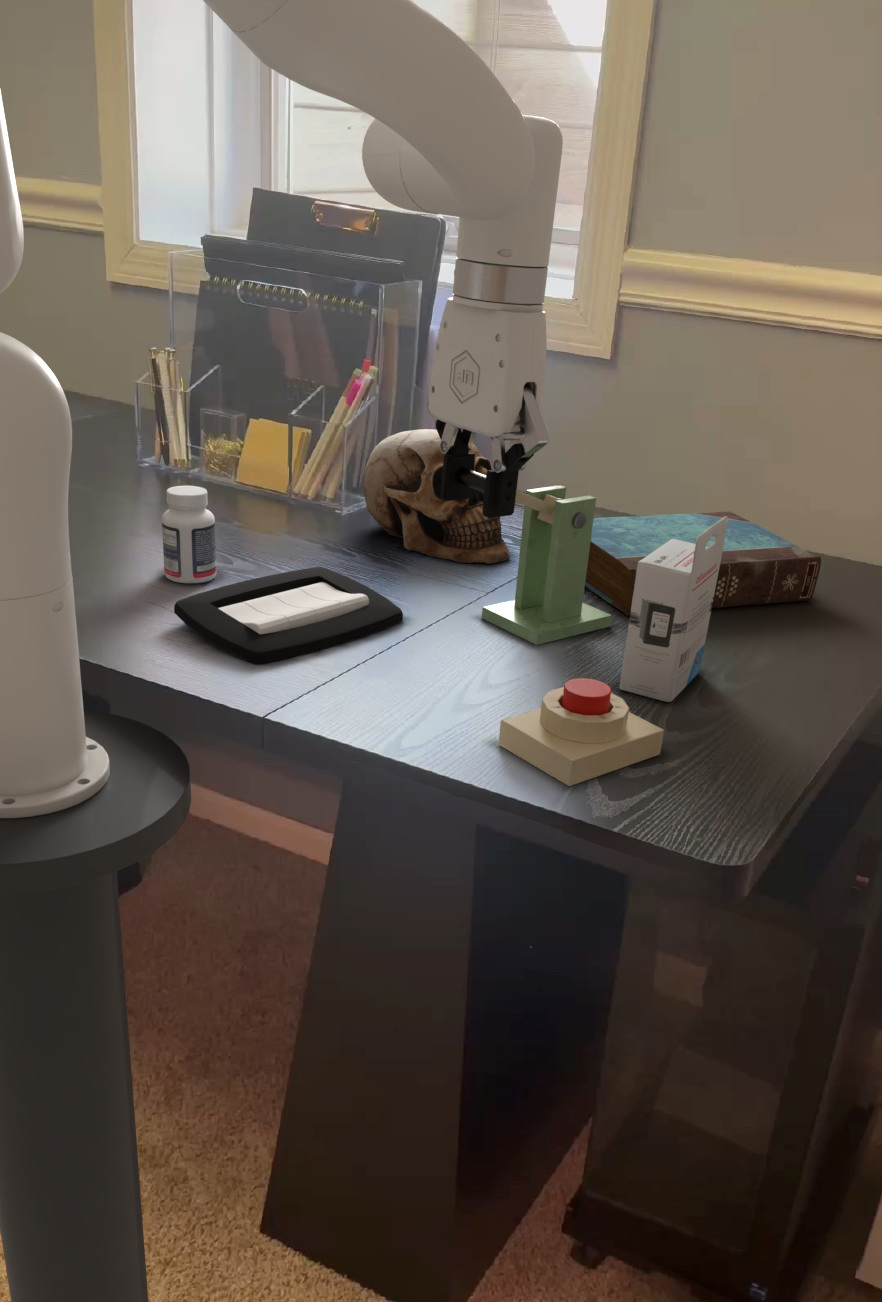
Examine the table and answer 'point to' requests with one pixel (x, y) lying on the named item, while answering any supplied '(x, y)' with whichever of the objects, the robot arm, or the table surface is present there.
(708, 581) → the ink box
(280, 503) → the table surface
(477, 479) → the lever
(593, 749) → the button box
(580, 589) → the bracket
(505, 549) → the human skull model
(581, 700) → the button
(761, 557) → the book
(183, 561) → the pill bottle
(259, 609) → the light switch
